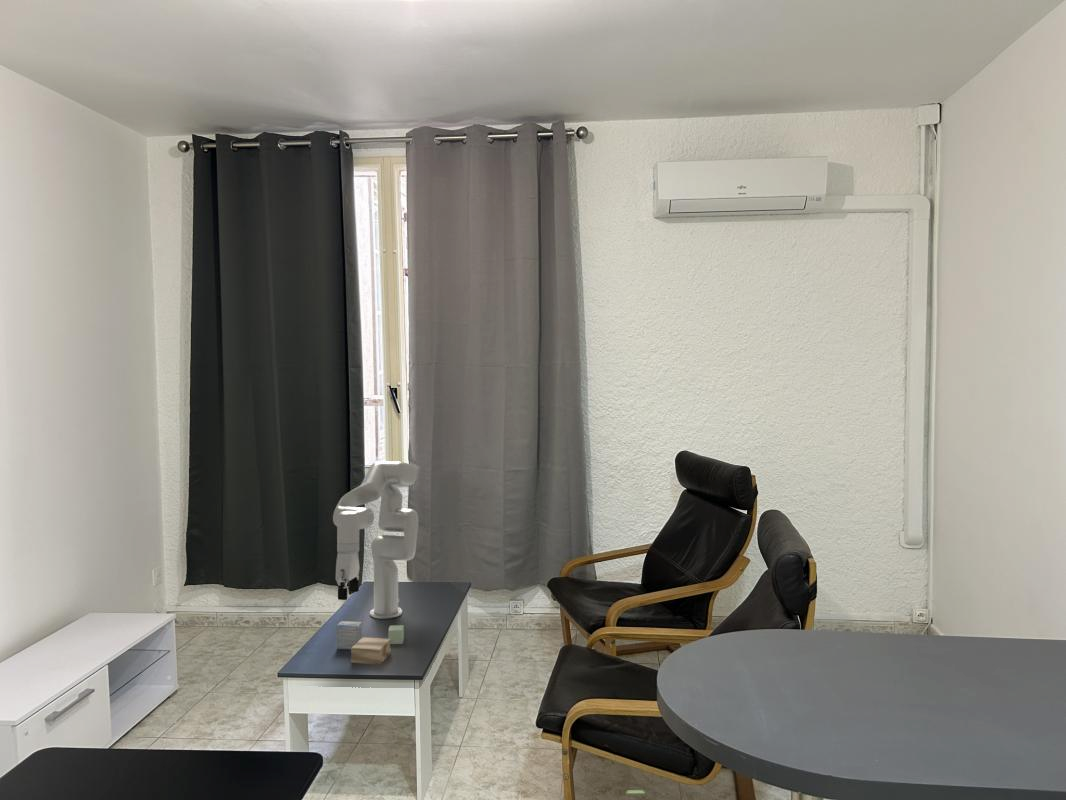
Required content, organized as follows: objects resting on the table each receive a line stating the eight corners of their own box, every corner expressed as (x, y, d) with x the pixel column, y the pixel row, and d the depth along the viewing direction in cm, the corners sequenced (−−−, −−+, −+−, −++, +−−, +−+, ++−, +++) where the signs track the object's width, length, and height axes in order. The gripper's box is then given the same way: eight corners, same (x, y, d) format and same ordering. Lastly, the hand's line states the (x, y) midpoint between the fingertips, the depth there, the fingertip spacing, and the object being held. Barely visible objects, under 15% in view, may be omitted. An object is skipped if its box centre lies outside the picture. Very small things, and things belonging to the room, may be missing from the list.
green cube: (389, 639, 271) (389, 625, 271) (403, 638, 272) (403, 625, 271) (388, 644, 266) (388, 630, 266) (402, 643, 267) (402, 630, 266)
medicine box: (362, 645, 265) (362, 621, 264) (358, 650, 260) (358, 626, 260) (341, 644, 265) (340, 620, 265) (336, 649, 261) (336, 625, 261)
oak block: (363, 651, 259) (363, 637, 259) (390, 653, 258) (390, 639, 258) (351, 662, 250) (351, 647, 249) (379, 664, 248) (379, 650, 248)
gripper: (348, 540, 270) (348, 587, 270) (327, 552, 253) (327, 602, 253) (368, 541, 268) (368, 589, 269) (348, 553, 251) (348, 603, 252)
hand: (348, 595), depth 261 cm, fingers open, 9 cm apart
